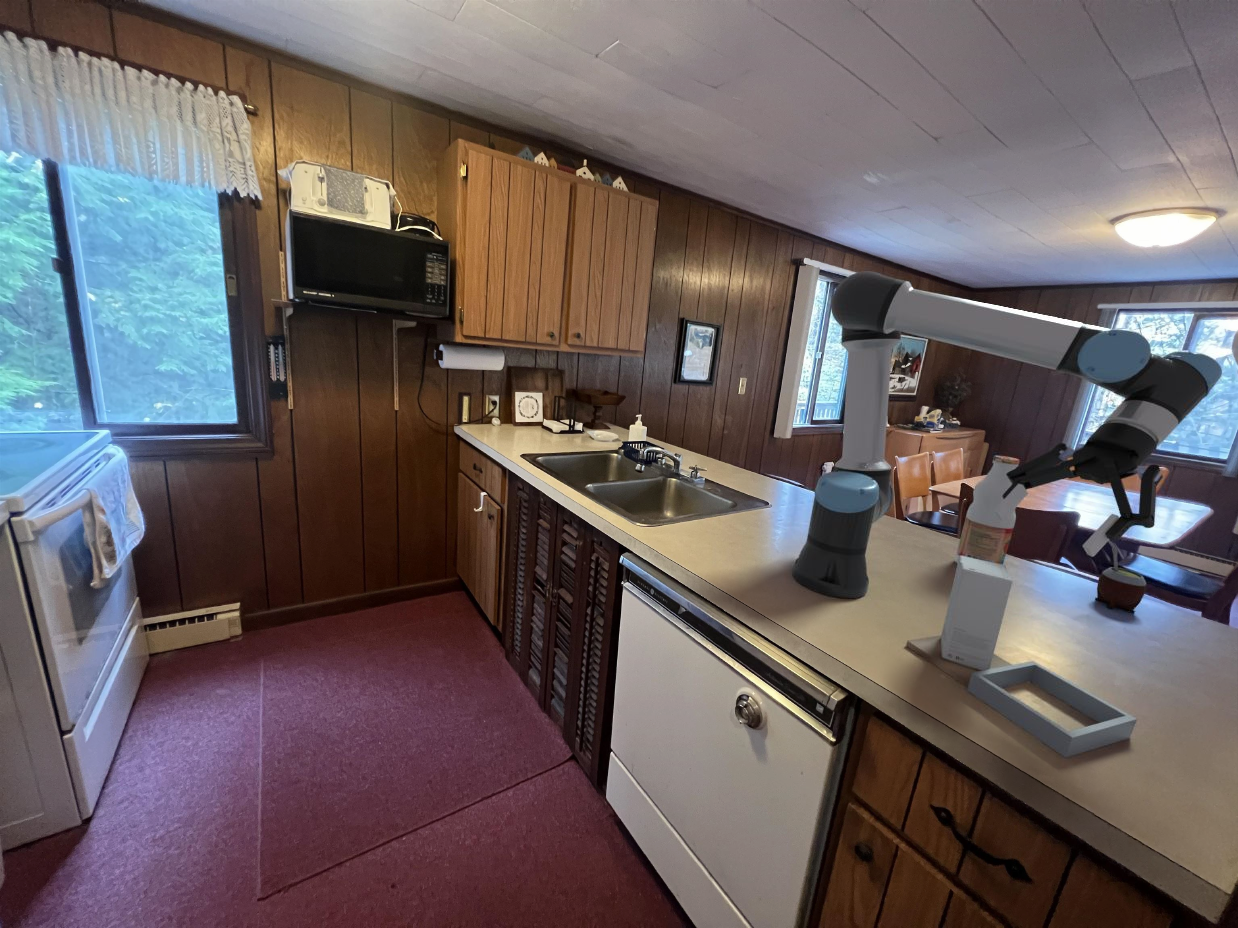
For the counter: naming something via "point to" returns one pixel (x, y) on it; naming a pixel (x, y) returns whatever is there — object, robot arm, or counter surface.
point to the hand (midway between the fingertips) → (1039, 532)
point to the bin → (1066, 743)
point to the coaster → (933, 654)
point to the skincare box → (975, 612)
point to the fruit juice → (989, 516)
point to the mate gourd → (1120, 587)
